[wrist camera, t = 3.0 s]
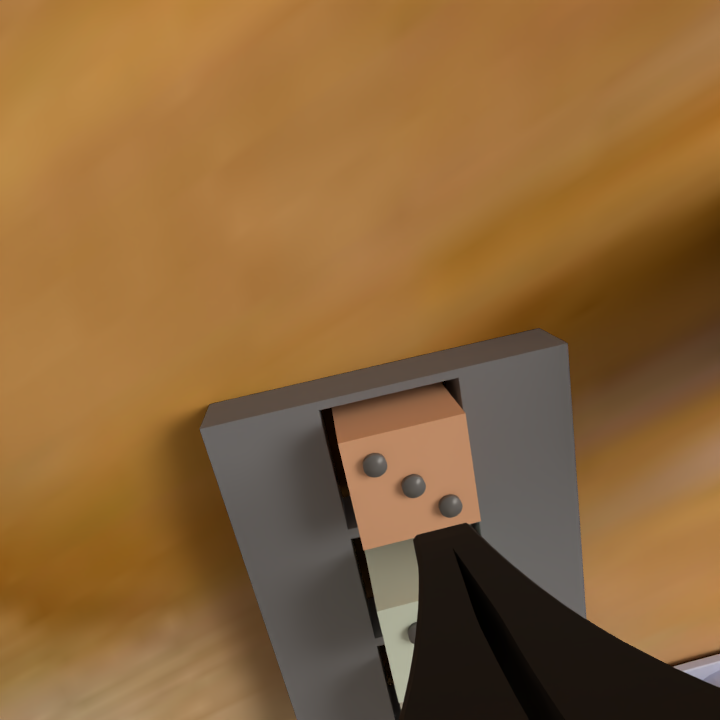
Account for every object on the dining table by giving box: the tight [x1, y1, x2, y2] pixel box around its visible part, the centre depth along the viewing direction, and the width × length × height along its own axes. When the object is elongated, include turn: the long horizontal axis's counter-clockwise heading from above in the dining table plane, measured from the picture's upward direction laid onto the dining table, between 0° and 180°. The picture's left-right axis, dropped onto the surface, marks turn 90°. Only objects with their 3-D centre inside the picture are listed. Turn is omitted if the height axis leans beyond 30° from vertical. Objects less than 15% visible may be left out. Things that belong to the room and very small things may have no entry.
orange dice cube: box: [331, 382, 481, 551], centre depth 17 cm, size 4×4×4 cm
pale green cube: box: [365, 524, 471, 703], centre depth 17 cm, size 4×4×4 cm
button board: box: [200, 328, 586, 720], centre depth 19 cm, size 15×12×2 cm
